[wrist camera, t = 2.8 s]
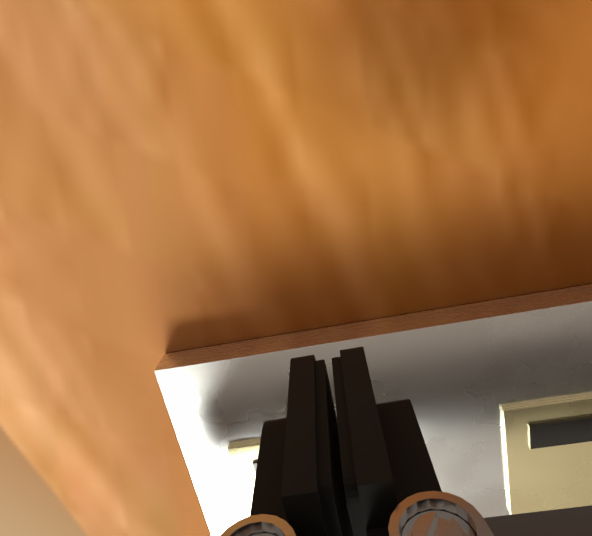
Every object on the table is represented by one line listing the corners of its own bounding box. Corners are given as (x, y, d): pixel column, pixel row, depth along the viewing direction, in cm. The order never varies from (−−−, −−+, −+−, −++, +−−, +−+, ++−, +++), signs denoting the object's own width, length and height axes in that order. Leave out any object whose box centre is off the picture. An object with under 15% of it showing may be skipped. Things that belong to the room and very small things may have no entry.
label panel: (733, 260, 16) (775, 276, 14) (705, 529, 19) (735, 562, 18) (164, 354, 18) (151, 375, 16) (240, 579, 22) (234, 613, 20)
